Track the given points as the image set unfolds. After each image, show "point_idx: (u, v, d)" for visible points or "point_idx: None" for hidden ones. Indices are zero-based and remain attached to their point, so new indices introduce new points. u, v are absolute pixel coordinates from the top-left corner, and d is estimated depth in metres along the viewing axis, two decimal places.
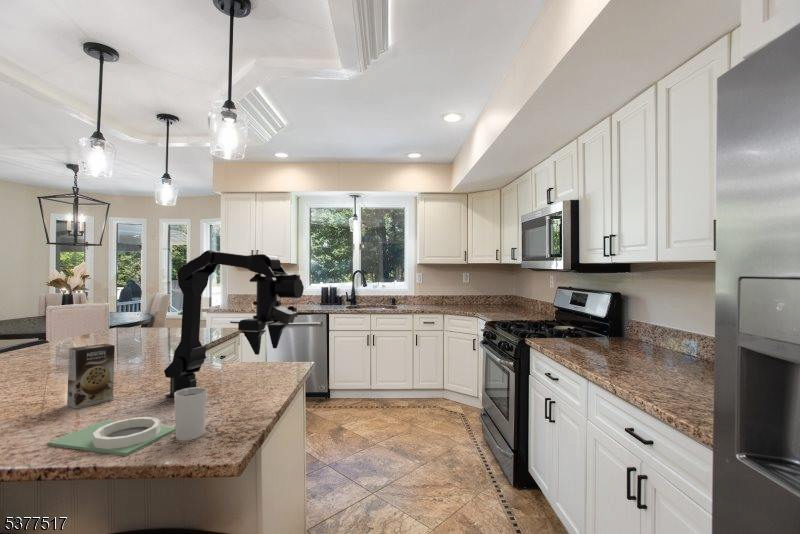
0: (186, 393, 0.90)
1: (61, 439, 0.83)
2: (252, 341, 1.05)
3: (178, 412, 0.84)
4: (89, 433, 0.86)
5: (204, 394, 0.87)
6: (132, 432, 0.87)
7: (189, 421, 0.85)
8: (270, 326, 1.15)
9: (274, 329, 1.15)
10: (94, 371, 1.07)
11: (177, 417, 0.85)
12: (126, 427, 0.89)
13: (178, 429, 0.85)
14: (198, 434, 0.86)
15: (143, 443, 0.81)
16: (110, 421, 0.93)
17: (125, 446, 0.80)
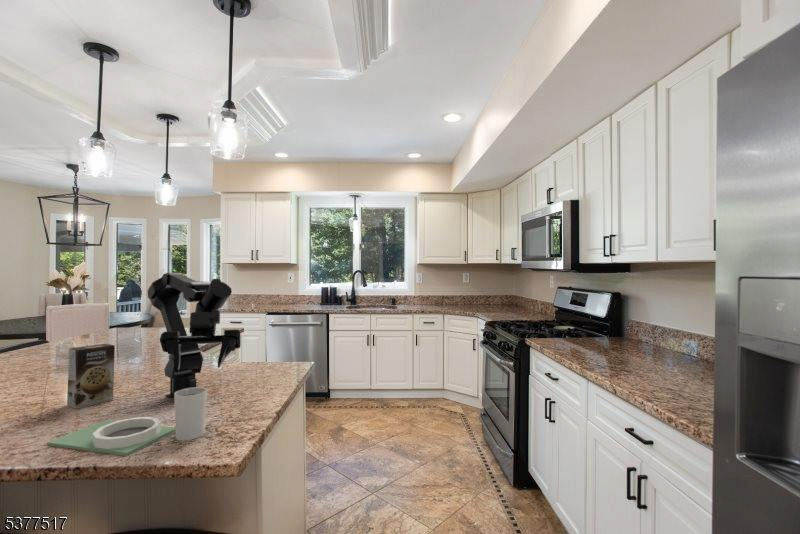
0: (186, 393, 0.90)
1: (61, 439, 0.83)
2: None
3: (178, 412, 0.84)
4: (89, 433, 0.86)
5: (204, 394, 0.87)
6: (132, 432, 0.87)
7: (189, 421, 0.85)
8: None
9: None
10: (94, 371, 1.07)
11: (177, 417, 0.85)
12: (126, 427, 0.89)
13: (178, 429, 0.85)
14: (198, 434, 0.86)
15: (143, 443, 0.81)
16: (110, 421, 0.93)
17: (125, 446, 0.80)
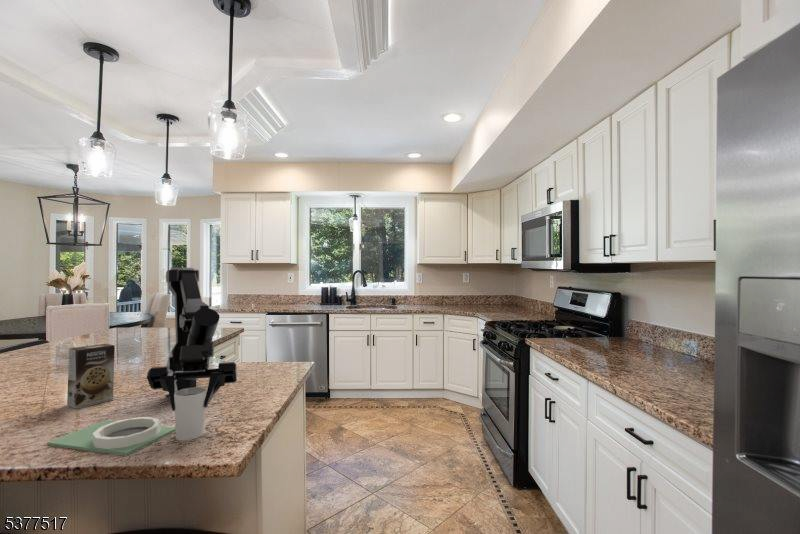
0: (186, 393, 0.90)
1: (61, 439, 0.83)
2: None
3: (178, 412, 0.84)
4: (89, 433, 0.86)
5: (204, 394, 0.87)
6: (132, 432, 0.87)
7: (189, 421, 0.85)
8: None
9: None
10: (94, 371, 1.07)
11: (177, 417, 0.85)
12: (126, 427, 0.89)
13: (178, 429, 0.85)
14: (198, 434, 0.86)
15: (143, 443, 0.81)
16: (110, 421, 0.93)
17: (125, 446, 0.80)
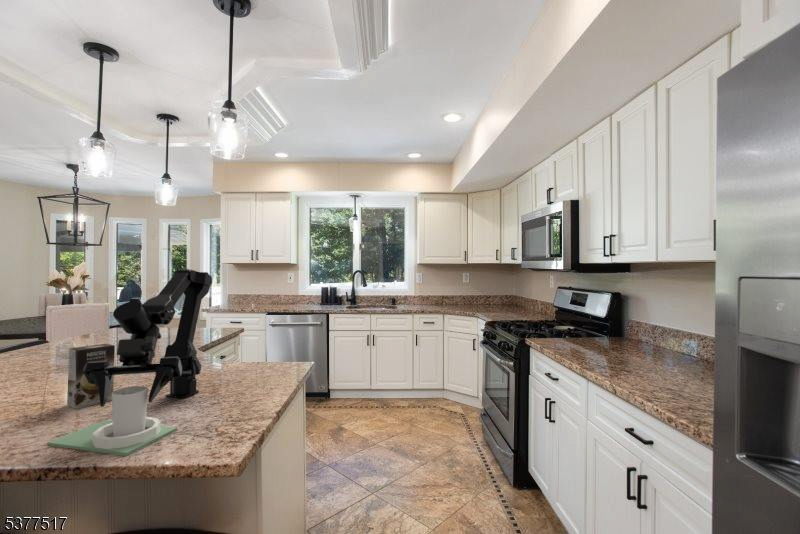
0: (127, 392, 0.88)
1: (61, 439, 0.83)
2: None
3: (115, 411, 0.82)
4: (89, 433, 0.86)
5: (143, 393, 0.85)
6: None
7: (126, 421, 0.83)
8: None
9: None
10: None
11: (114, 416, 0.83)
12: None
13: (115, 429, 0.83)
14: None
15: (143, 443, 0.81)
16: (110, 421, 0.93)
17: (125, 446, 0.80)
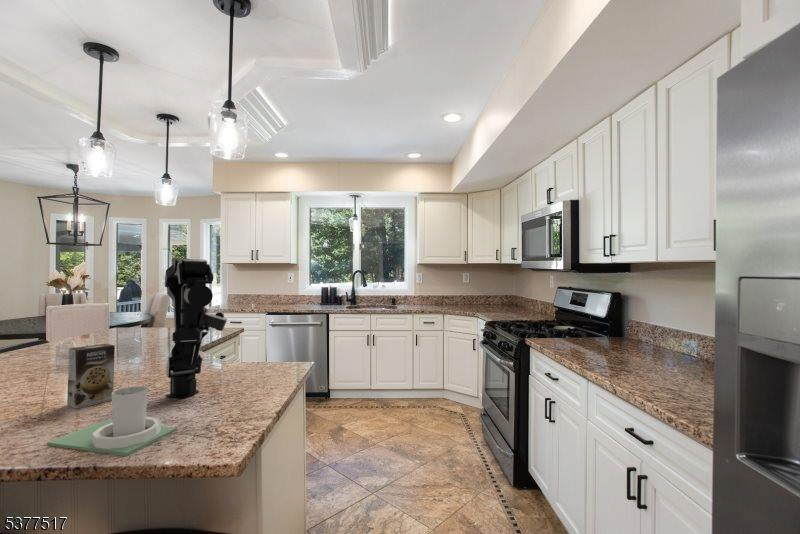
0: (127, 392, 0.88)
1: (61, 439, 0.83)
2: (185, 352, 0.98)
3: (115, 411, 0.82)
4: (89, 433, 0.86)
5: (143, 393, 0.85)
6: None
7: (126, 421, 0.83)
8: None
9: None
10: (94, 371, 1.07)
11: (114, 416, 0.83)
12: None
13: (115, 429, 0.83)
14: None
15: (143, 443, 0.81)
16: (110, 421, 0.93)
17: (125, 446, 0.80)
